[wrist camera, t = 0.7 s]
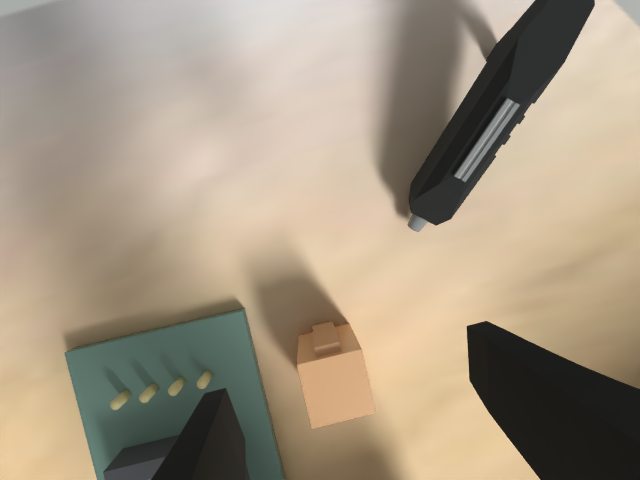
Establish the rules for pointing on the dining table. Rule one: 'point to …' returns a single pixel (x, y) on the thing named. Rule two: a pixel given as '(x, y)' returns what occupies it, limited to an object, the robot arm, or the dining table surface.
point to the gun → (495, 106)
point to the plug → (333, 375)
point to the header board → (169, 394)
